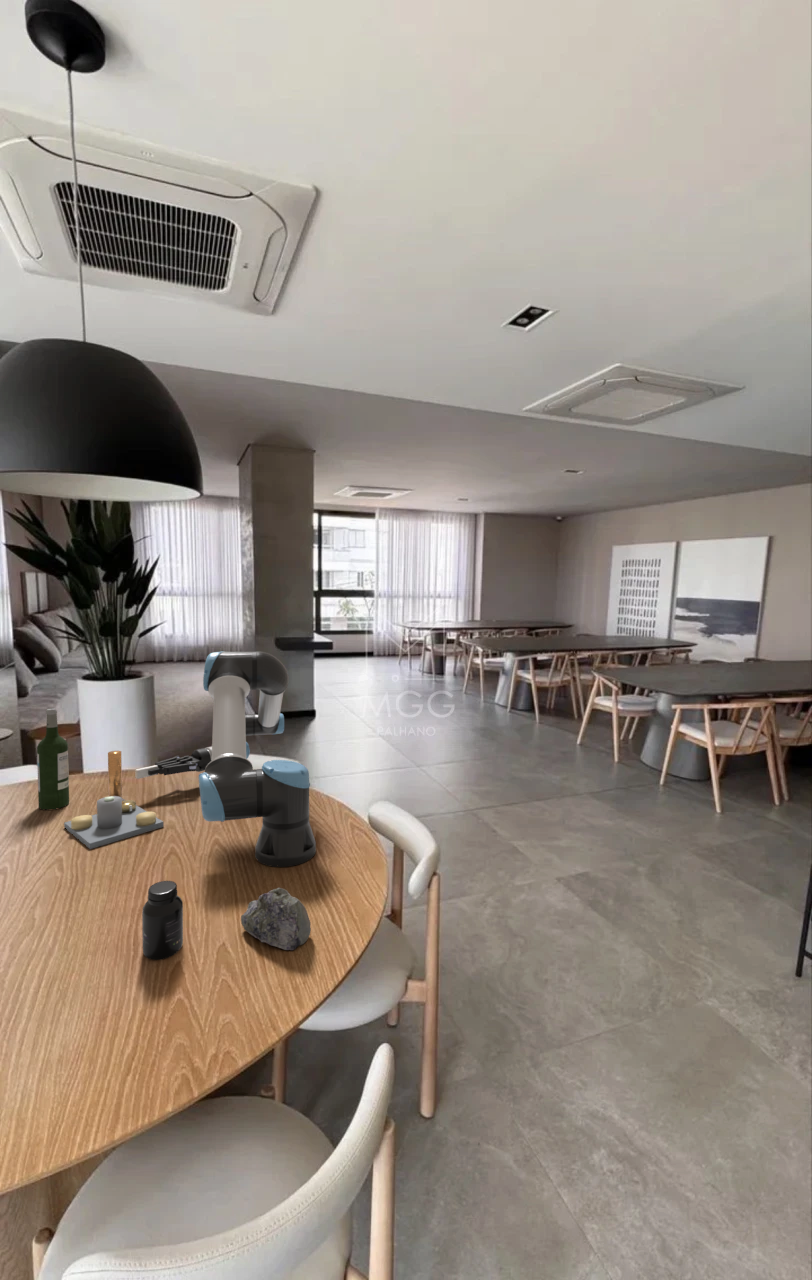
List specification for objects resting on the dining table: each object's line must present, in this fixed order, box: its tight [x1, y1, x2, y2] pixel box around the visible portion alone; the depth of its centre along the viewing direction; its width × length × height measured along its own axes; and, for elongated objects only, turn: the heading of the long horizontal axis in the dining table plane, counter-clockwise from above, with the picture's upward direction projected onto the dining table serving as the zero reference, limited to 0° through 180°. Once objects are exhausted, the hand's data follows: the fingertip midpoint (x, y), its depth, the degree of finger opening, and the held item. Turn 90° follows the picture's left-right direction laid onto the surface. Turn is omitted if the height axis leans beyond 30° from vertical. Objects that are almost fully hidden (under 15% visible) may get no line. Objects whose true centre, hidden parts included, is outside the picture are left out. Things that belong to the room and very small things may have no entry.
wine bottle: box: [36, 708, 70, 810], centre depth 166 cm, size 8×8×30 cm
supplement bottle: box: [141, 880, 184, 961], centre depth 100 cm, size 7×7×12 cm
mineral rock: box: [240, 887, 312, 951], centre depth 105 cm, size 13×11×10 cm
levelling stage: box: [63, 796, 165, 850], centre depth 152 cm, size 19×19×9 cm
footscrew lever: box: [107, 750, 137, 812], centre depth 162 cm, size 13×5×16 cm, turn 49°
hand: (136, 774), depth 170 cm, fingers closed
